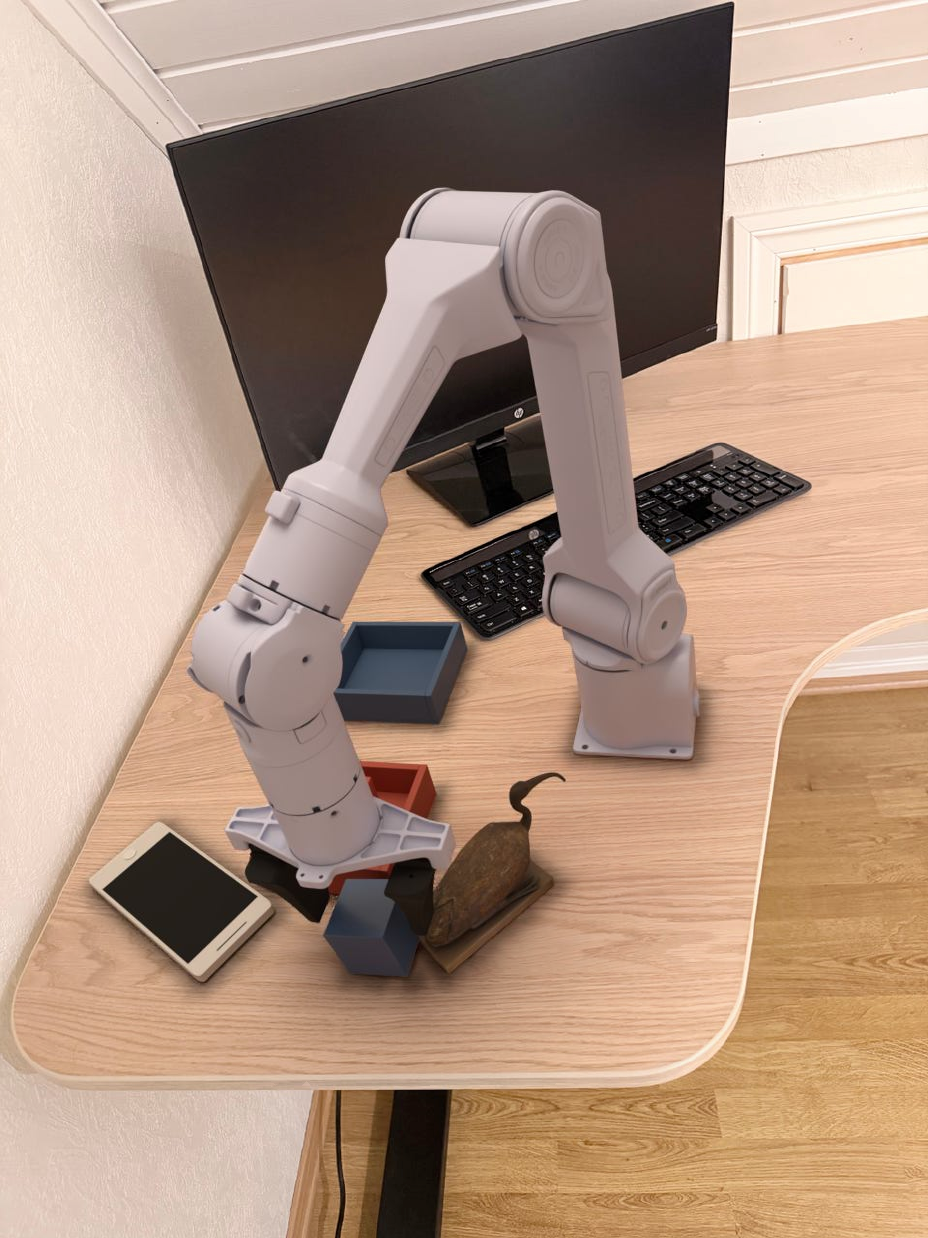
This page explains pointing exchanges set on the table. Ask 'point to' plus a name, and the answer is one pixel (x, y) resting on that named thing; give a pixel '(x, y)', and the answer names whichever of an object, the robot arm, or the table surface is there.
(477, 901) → the figurine
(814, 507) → the table surface
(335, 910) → the blue block
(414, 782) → the red bin
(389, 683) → the blue bin
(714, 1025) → the table surface
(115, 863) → the smartphone
